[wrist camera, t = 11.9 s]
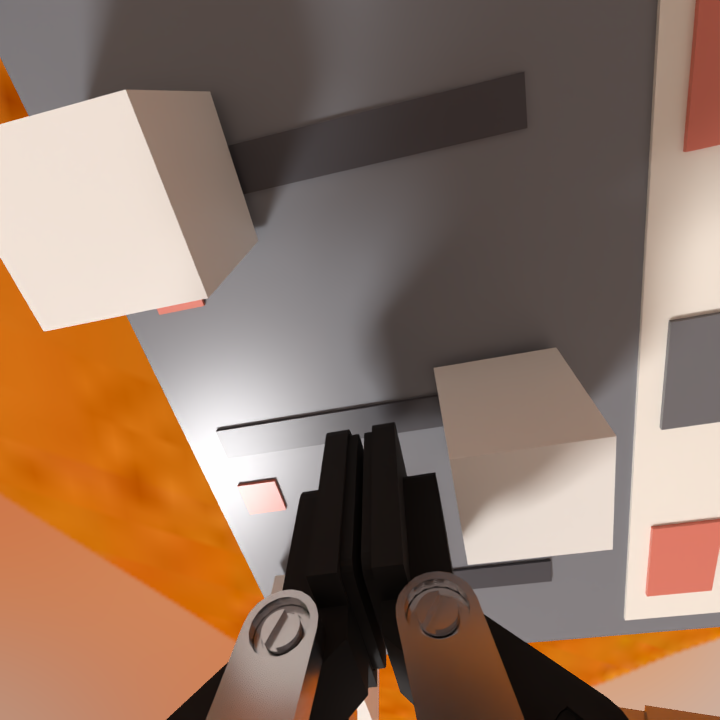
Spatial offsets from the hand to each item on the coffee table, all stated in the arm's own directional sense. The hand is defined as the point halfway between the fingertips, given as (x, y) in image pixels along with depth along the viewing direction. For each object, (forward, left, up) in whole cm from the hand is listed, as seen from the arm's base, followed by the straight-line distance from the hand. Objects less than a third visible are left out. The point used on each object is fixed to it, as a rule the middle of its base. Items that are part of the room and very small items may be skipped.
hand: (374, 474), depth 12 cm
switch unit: (-2, 0, -5) cm, 6 cm away
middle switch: (-3, 0, -2) cm, 4 cm away
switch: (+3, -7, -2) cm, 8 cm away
